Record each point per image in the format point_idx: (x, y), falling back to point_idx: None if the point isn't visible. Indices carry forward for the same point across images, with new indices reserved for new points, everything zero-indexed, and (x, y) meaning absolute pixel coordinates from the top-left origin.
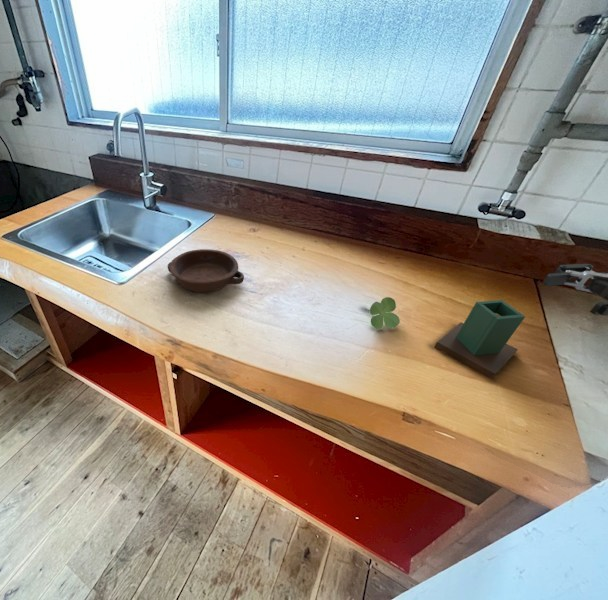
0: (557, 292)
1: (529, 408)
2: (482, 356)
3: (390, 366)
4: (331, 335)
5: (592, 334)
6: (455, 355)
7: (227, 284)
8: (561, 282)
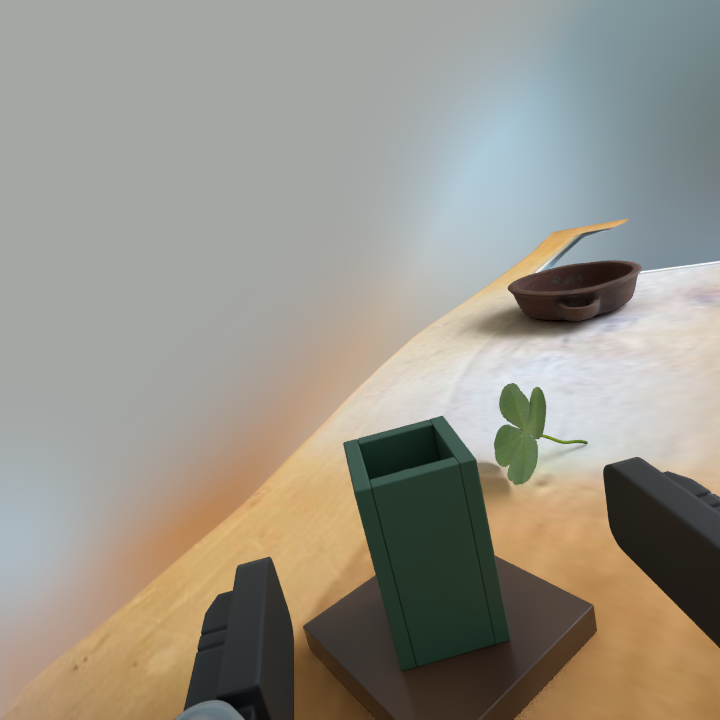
0: None
1: None
2: (379, 614)
3: None
4: (453, 417)
5: None
6: None
7: (558, 316)
8: (694, 600)
